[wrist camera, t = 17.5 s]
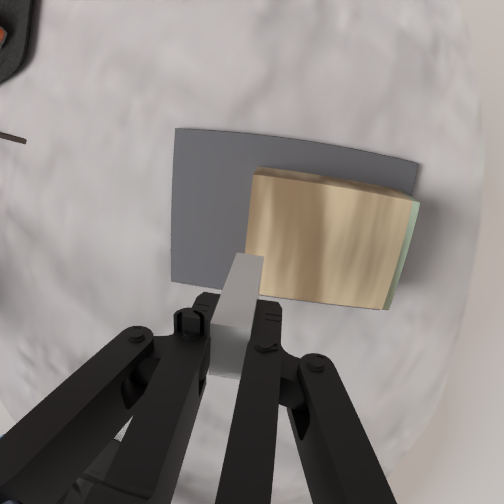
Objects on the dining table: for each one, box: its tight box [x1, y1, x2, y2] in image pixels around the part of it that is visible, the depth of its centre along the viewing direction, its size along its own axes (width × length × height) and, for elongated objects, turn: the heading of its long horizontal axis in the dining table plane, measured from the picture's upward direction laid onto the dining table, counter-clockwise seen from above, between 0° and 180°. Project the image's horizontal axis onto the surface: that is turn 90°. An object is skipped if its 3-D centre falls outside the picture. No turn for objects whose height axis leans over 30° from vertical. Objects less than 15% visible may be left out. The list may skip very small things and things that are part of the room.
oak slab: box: [245, 167, 420, 310], centre depth 24 cm, size 4×9×12 cm
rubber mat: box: [171, 129, 418, 310], centre depth 26 cm, size 20×14×1 cm
